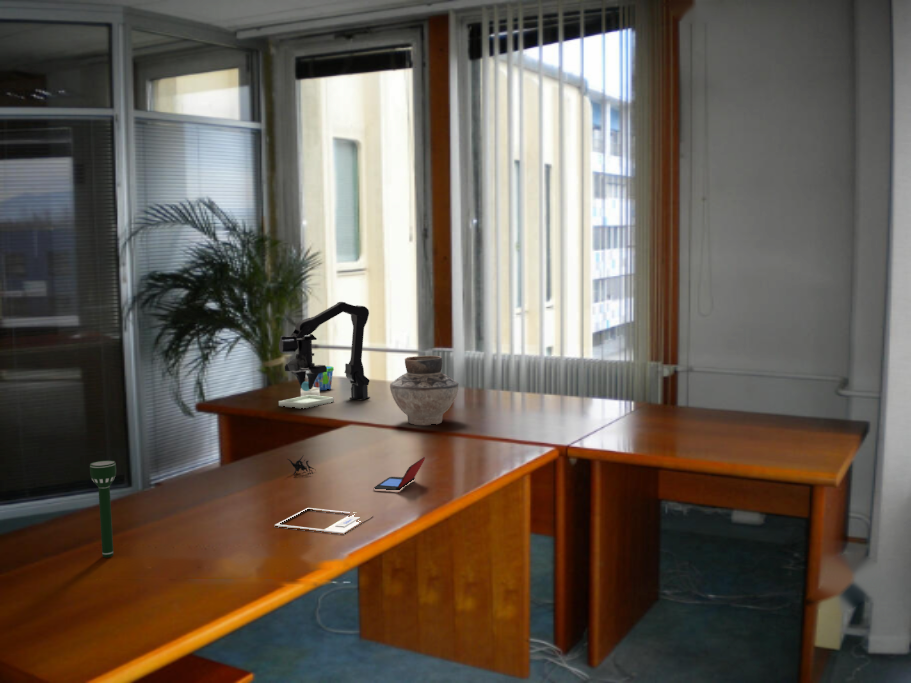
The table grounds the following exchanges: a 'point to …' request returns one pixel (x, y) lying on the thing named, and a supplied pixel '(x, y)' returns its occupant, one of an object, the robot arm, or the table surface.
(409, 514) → the table surface
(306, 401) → the tray
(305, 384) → the ball
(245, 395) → the table surface
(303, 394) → the cup
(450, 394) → the ceramic pot
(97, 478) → the flashlight
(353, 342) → the robot arm
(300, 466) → the creature
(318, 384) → the snack cup
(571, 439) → the table surface
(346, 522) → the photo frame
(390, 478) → the handheld game console
